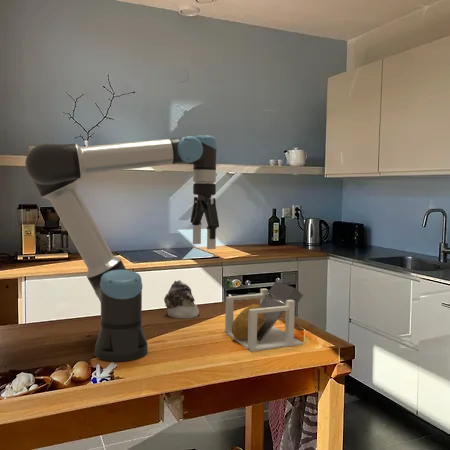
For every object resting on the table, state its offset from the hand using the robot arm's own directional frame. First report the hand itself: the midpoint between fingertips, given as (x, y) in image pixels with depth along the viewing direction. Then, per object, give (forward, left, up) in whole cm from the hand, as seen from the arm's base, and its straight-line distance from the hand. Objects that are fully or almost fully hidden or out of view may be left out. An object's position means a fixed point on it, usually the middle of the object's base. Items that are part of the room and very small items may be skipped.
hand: (203, 246), depth 160 cm
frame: (+15, -15, -29) cm, 36 cm away
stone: (-1, +20, -29) cm, 35 cm away
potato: (+12, -15, -24) cm, 31 cm away
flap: (+20, -15, -22) cm, 33 cm away
